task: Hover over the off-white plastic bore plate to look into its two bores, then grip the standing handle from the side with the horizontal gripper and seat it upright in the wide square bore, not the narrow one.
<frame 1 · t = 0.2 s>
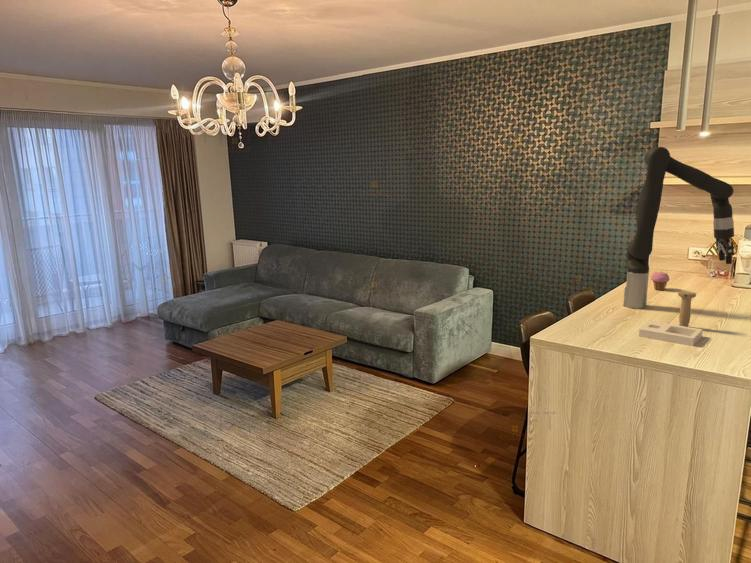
hand: (725, 262, 230), 22 cm above the countertop, tool pointing down, fingers open, 8 cm apart
cupcake: (659, 290, 275), on the countertop
bore plate: (670, 336, 202), on the countertop
handle: (683, 327, 212), on the countertop
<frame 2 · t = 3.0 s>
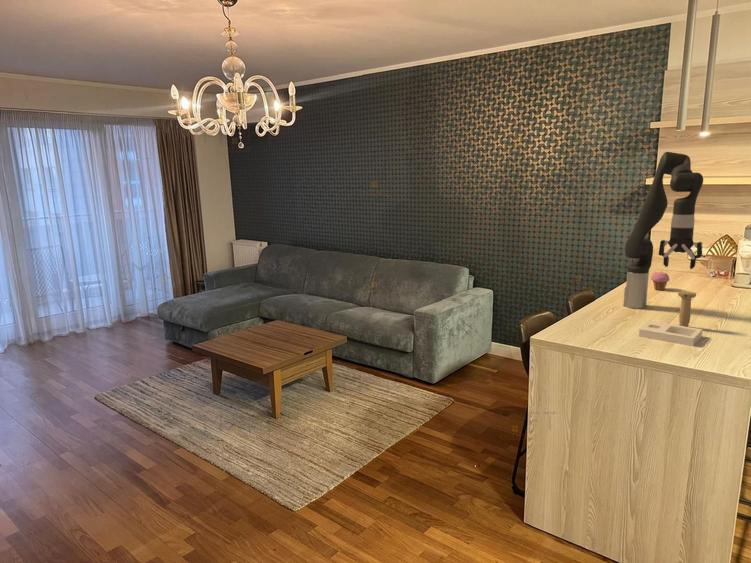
hand: (678, 267, 195), 28 cm above the countertop, tool pointing down, fingers open, 8 cm apart
nothing on the countertop moved.
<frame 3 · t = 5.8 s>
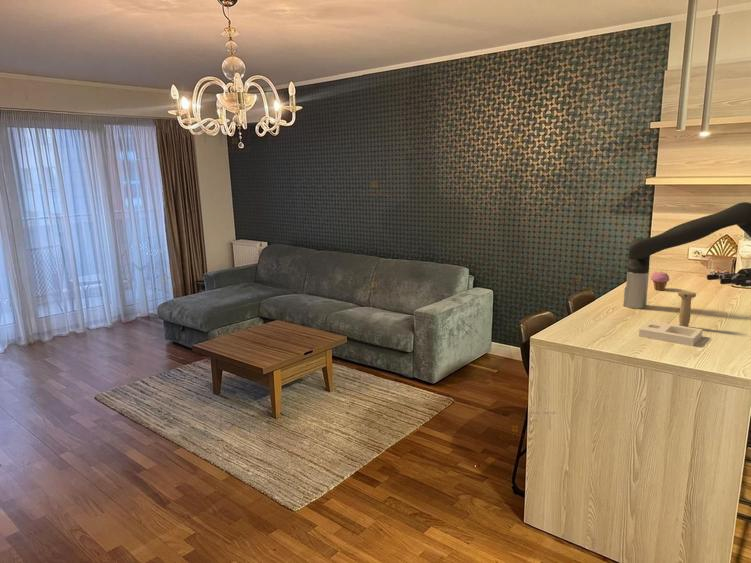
hand: (713, 279, 207), 20 cm above the countertop, tool horizontal, fingers open, 8 cm apart
nothing on the countertop moved.
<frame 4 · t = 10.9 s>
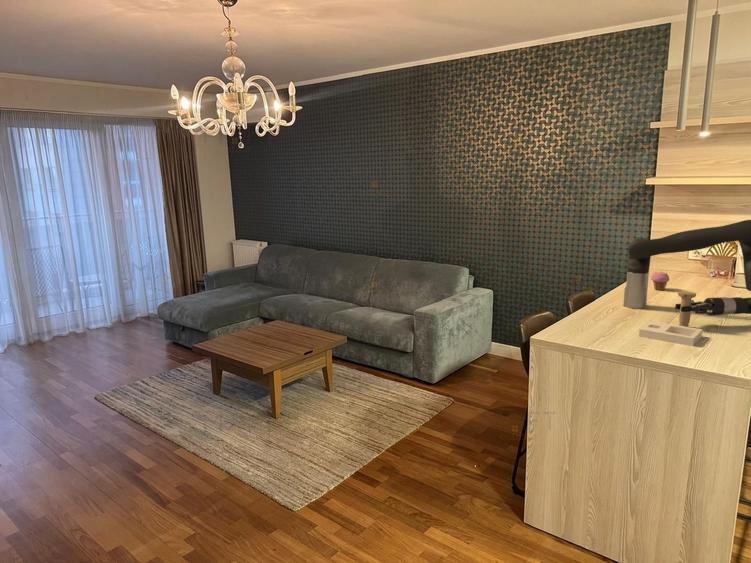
hand: (678, 307, 210), 9 cm above the countertop, tool horizontal, fingers closed on handle, 3 cm apart
handle: (683, 327, 212), on the countertop, touching gripper
everything else where it was.
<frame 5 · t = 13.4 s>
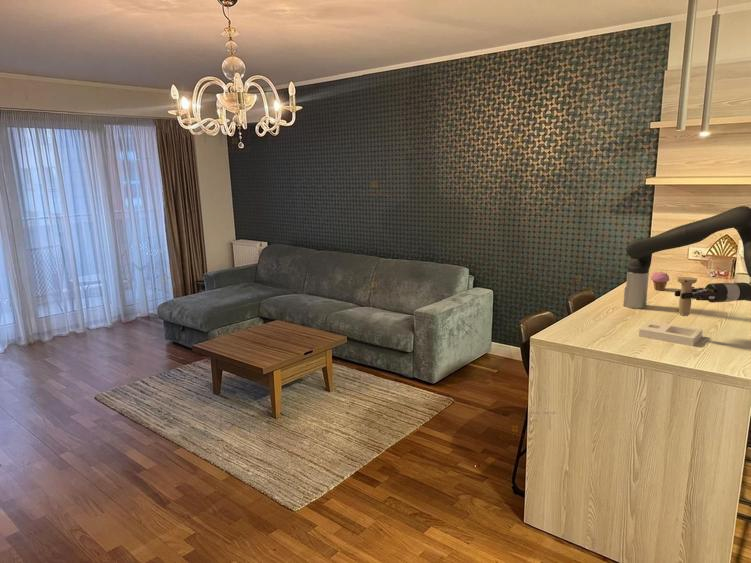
hand: (678, 294, 196), 18 cm above the countertop, tool horizontal, fingers closed on handle, 3 cm apart
handle: (684, 315, 198), point 9 cm above the countertop, touching gripper
everything else where it was.
when the fingers open (10 cm above the countertop, at t = 16.2 s): handle drops 1 cm, resting in bore plate.
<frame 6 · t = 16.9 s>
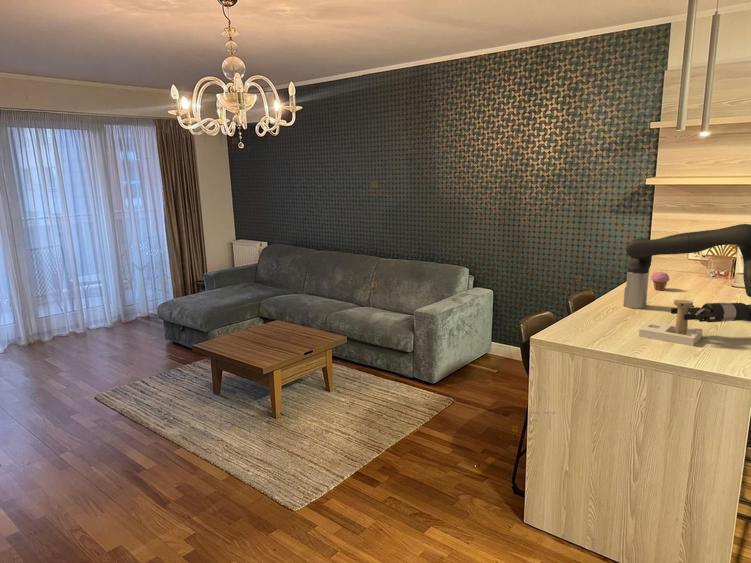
hand: (677, 314, 197), 10 cm above the countertop, tool horizontal, fingers open, 8 cm apart
handle: (680, 338, 199), resting in bore plate
everything else where it was.
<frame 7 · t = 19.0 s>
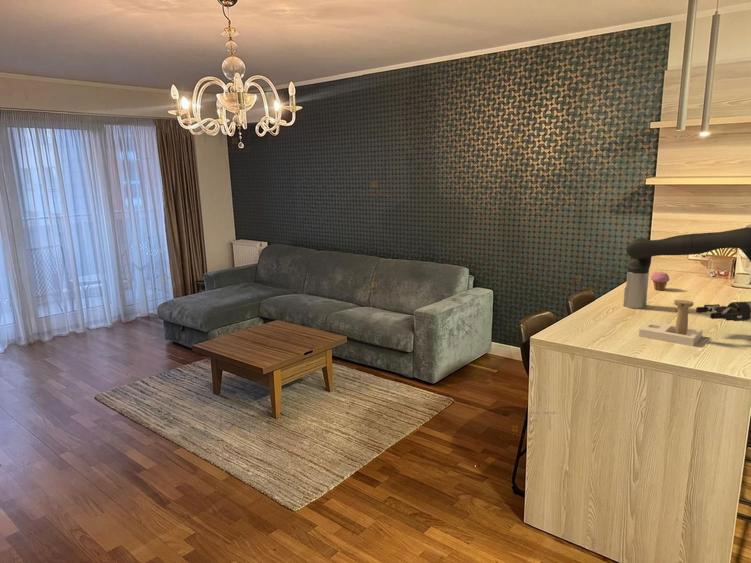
hand: (703, 312, 197), 10 cm above the countertop, tool horizontal, fingers open, 8 cm apart
nothing on the countertop moved.
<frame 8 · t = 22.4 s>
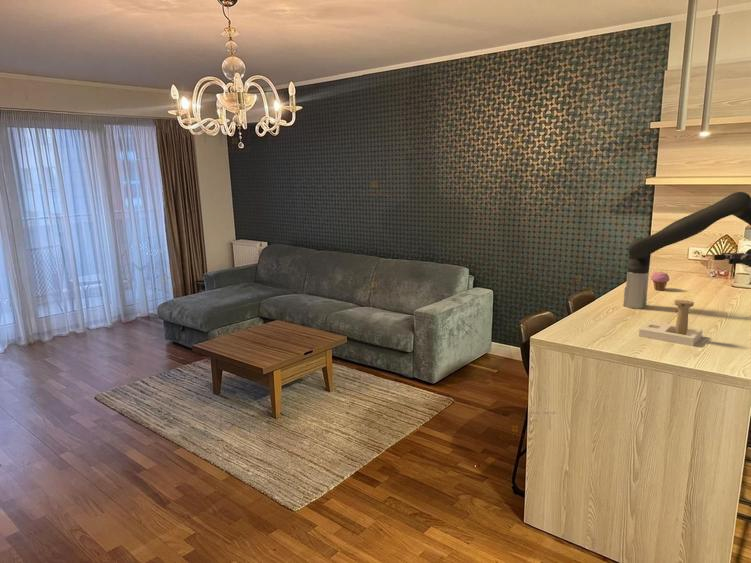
hand: (721, 259, 199), 30 cm above the countertop, tool horizontal, fingers open, 8 cm apart
nothing on the countertop moved.
at the end: handle 0.2 cm from the target spot on the bore plate, point 0.0 cm above the bore plate's base; handle tilted 0°; the gripper is holding nothing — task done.
